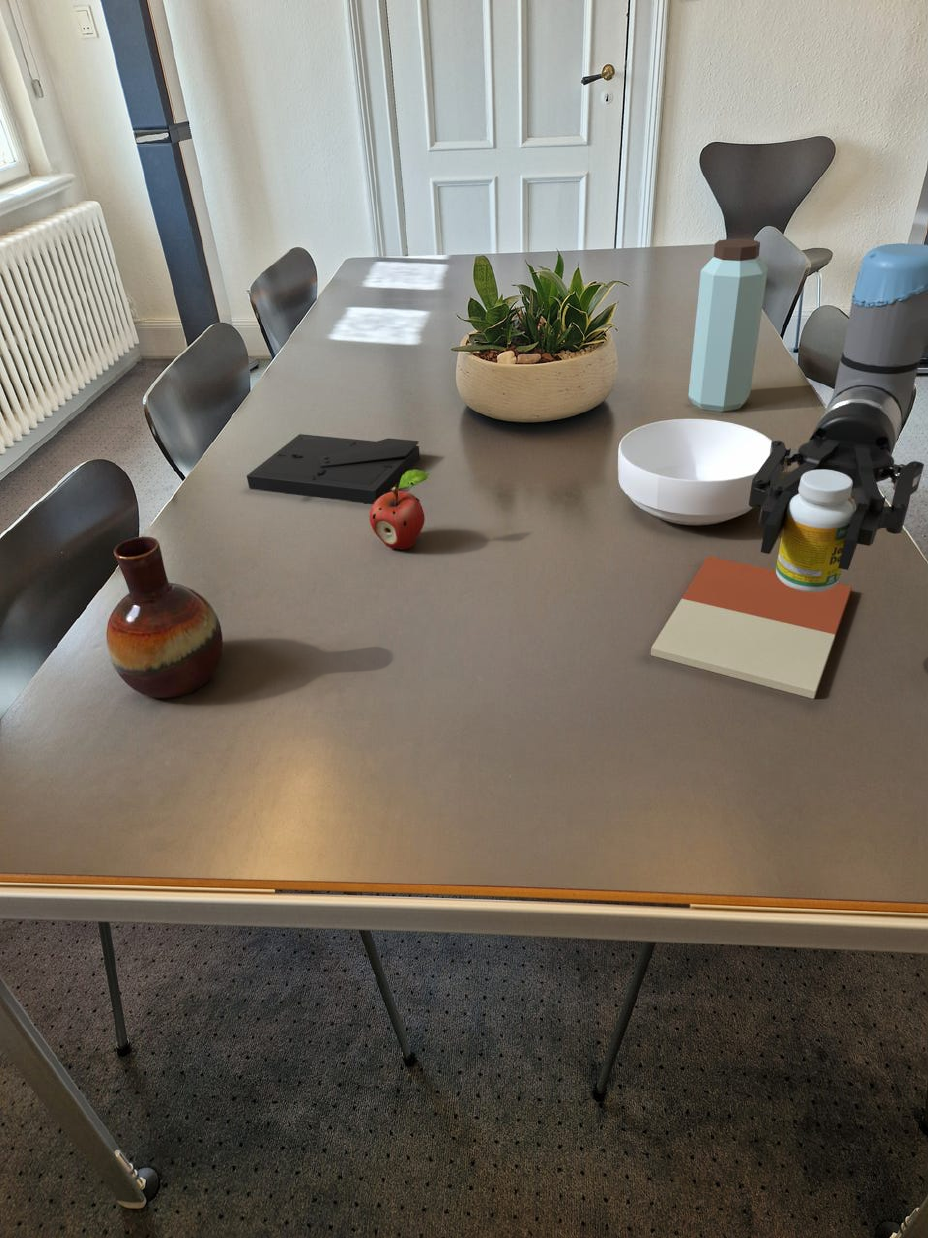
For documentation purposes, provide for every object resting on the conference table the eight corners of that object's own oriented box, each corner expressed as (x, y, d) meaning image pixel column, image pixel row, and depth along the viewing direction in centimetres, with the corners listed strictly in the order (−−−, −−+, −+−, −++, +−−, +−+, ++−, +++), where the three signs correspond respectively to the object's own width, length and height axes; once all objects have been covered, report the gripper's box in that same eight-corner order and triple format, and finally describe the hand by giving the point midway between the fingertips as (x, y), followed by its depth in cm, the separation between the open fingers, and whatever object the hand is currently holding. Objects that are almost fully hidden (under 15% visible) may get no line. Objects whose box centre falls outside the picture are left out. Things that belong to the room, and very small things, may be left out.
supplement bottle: (783, 556, 78) (801, 460, 73) (845, 570, 76) (868, 471, 70) (767, 585, 75) (784, 486, 69) (831, 600, 72) (854, 499, 67)
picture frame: (420, 458, 130) (301, 446, 137) (418, 441, 129) (298, 429, 135) (376, 504, 118) (249, 488, 125) (374, 485, 117) (245, 470, 123)
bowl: (792, 497, 113) (803, 437, 109) (727, 560, 101) (736, 496, 96) (660, 463, 124) (665, 408, 119) (587, 517, 112) (589, 457, 107)
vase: (176, 722, 82) (132, 589, 74) (98, 691, 87) (48, 562, 78) (252, 659, 90) (220, 531, 81) (176, 633, 95) (139, 510, 86)
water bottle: (712, 387, 148) (730, 233, 134) (761, 401, 142) (785, 240, 127) (675, 403, 143) (689, 244, 129) (724, 418, 137) (745, 252, 122)
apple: (388, 564, 105) (379, 491, 99) (364, 542, 110) (355, 471, 104) (442, 546, 108) (436, 473, 102) (417, 525, 113) (410, 455, 107)
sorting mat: (850, 593, 94) (852, 586, 94) (813, 699, 80) (815, 691, 80) (707, 563, 101) (707, 555, 100) (650, 655, 87) (651, 647, 86)
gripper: (947, 488, 83) (920, 612, 66) (754, 458, 90) (689, 562, 74) (969, 414, 78) (946, 527, 62) (765, 389, 86) (697, 484, 70)
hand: (806, 546), depth 68 cm, fingers closed on supplement bottle, 5 cm apart
